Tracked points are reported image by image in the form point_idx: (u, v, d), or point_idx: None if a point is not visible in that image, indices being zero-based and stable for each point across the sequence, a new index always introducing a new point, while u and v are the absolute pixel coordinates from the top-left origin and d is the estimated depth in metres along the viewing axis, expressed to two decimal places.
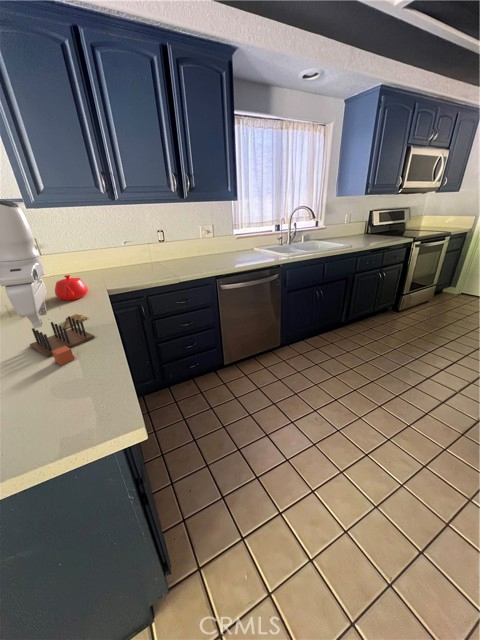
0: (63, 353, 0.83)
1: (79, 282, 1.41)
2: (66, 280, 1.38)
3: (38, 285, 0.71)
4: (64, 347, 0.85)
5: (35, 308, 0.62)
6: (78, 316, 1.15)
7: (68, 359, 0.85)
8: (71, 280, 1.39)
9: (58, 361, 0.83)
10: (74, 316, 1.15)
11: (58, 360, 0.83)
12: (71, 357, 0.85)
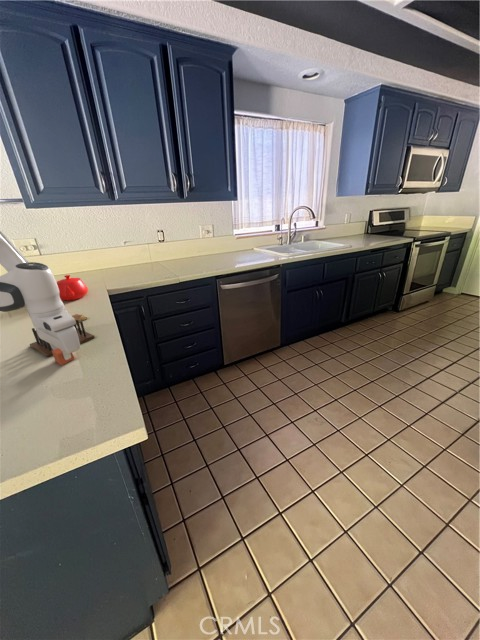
0: None
1: (79, 282, 1.41)
2: (66, 280, 1.38)
3: None
4: None
5: (79, 344, 0.79)
6: (78, 316, 1.15)
7: (68, 359, 0.85)
8: (71, 280, 1.39)
9: (58, 361, 0.84)
10: (74, 316, 1.15)
11: (58, 360, 0.83)
12: (71, 357, 0.85)
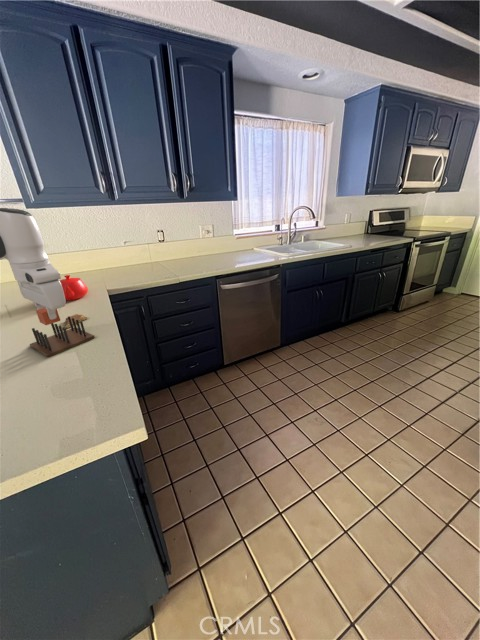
0: None
1: (79, 282, 1.41)
2: (66, 280, 1.38)
3: None
4: None
5: None
6: (78, 316, 1.15)
7: (53, 319, 0.79)
8: (71, 280, 1.39)
9: (42, 321, 0.78)
10: (74, 316, 1.15)
11: (43, 320, 0.77)
12: (57, 318, 0.79)
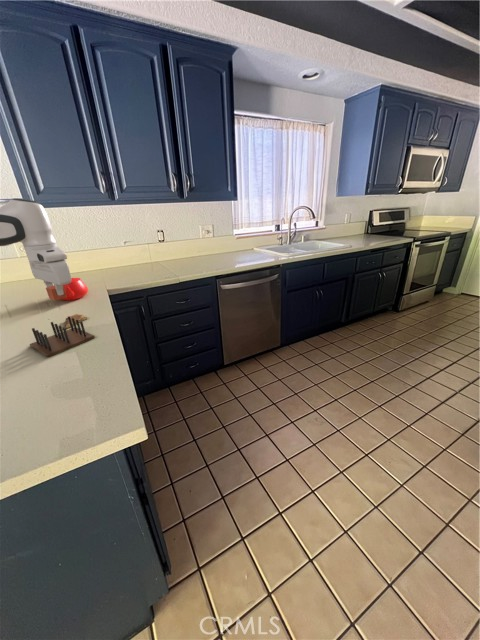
0: None
1: (79, 282, 1.41)
2: None
3: None
4: None
5: (70, 277, 0.85)
6: (78, 316, 1.15)
7: (61, 296, 0.91)
8: (71, 280, 1.39)
9: (51, 297, 0.90)
10: (74, 316, 1.15)
11: (52, 296, 0.90)
12: (64, 294, 0.92)
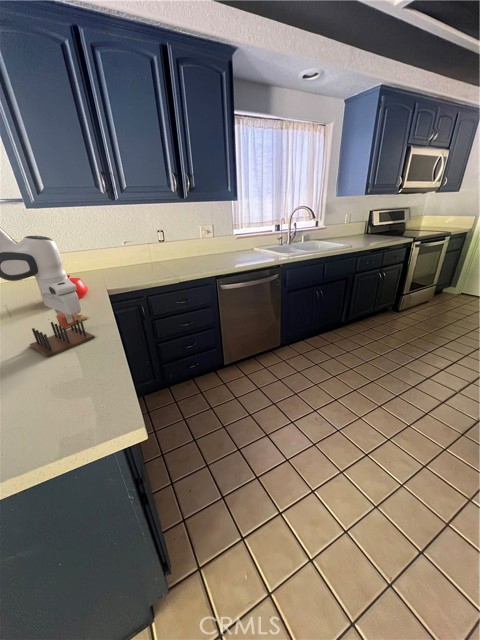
0: None
1: (79, 282, 1.41)
2: None
3: None
4: None
5: (80, 308, 0.90)
6: (78, 316, 1.15)
7: (70, 323, 0.96)
8: (71, 280, 1.39)
9: (62, 324, 0.95)
10: (74, 316, 1.15)
11: (62, 323, 0.95)
12: (73, 321, 0.97)
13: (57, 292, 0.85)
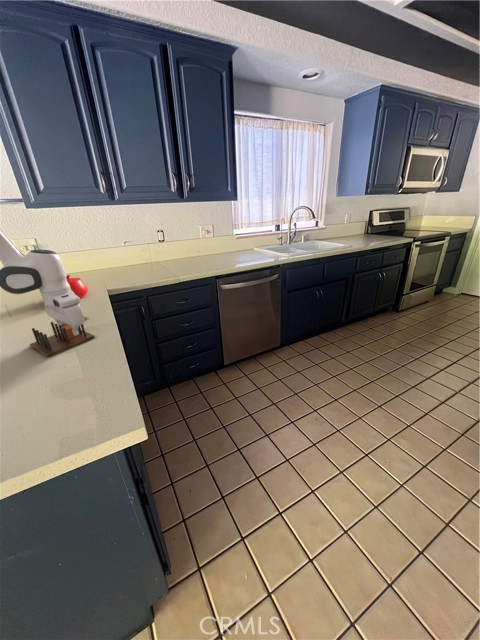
0: (70, 329, 0.97)
1: (79, 282, 1.41)
2: None
3: None
4: None
5: (83, 319, 0.92)
6: None
7: None
8: (71, 280, 1.39)
9: None
10: None
11: None
12: None
13: (61, 305, 0.86)
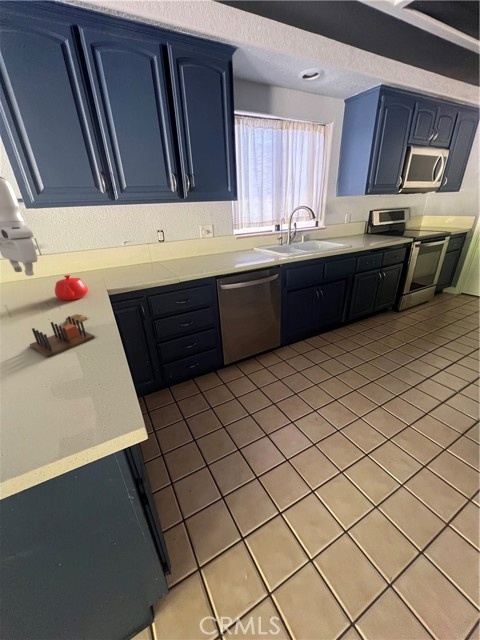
0: (70, 329, 0.97)
1: (79, 282, 1.41)
2: (66, 280, 1.38)
3: None
4: (70, 325, 0.99)
5: None
6: (78, 316, 1.15)
7: (74, 335, 0.98)
8: (71, 280, 1.39)
9: None
10: (74, 316, 1.15)
11: None
12: (76, 333, 0.99)
13: (9, 235, 0.78)
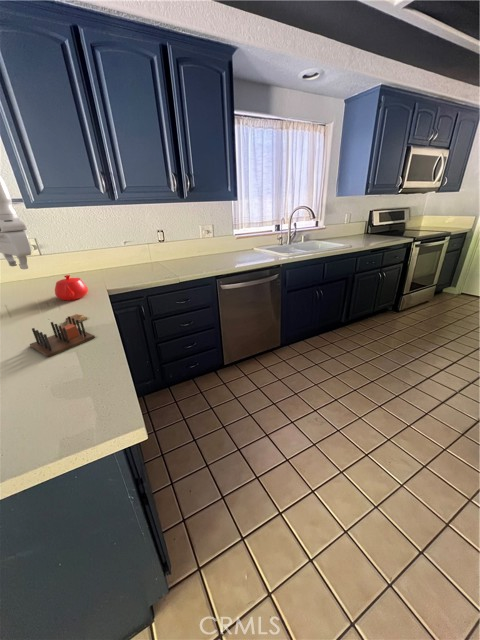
0: (70, 329, 0.97)
1: (79, 282, 1.41)
2: (66, 280, 1.38)
3: None
4: (70, 325, 0.99)
5: (30, 249, 0.84)
6: (78, 316, 1.15)
7: (74, 335, 0.98)
8: (71, 280, 1.39)
9: None
10: (74, 316, 1.15)
11: None
12: (76, 333, 0.99)
13: (2, 228, 0.78)
